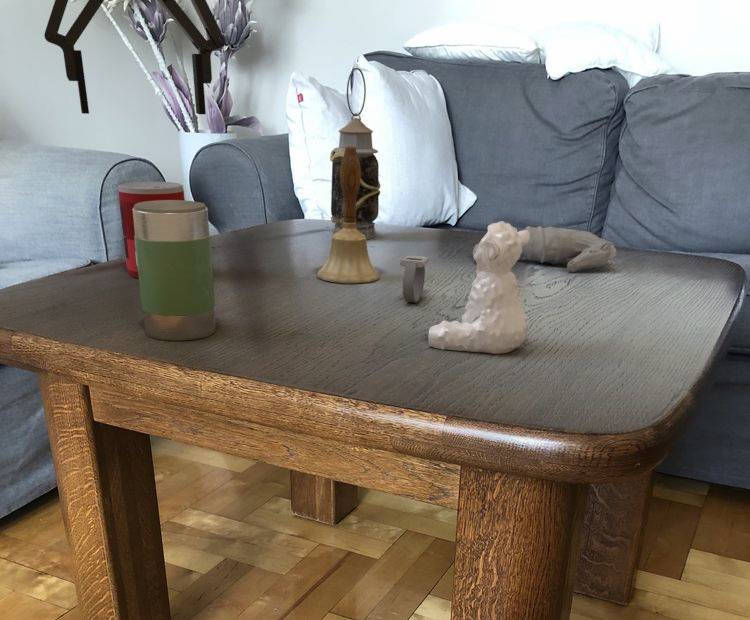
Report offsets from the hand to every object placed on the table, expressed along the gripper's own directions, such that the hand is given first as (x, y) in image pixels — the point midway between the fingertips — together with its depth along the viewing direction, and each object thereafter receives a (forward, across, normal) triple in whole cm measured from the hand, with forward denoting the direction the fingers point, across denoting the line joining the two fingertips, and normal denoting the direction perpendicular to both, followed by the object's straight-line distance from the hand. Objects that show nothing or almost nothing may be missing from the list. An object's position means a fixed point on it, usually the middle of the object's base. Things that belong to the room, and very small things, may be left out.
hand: (144, 113), depth 99 cm
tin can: (+19, -1, -28) cm, 34 cm away
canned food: (+19, 0, 0) cm, 19 cm away
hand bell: (+19, +24, -8) cm, 31 cm away
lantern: (+19, +34, +22) cm, 45 cm away
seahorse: (+20, +54, -6) cm, 57 cm away
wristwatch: (+19, +27, -22) cm, 40 cm away
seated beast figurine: (+19, +27, -41) cm, 53 cm away
